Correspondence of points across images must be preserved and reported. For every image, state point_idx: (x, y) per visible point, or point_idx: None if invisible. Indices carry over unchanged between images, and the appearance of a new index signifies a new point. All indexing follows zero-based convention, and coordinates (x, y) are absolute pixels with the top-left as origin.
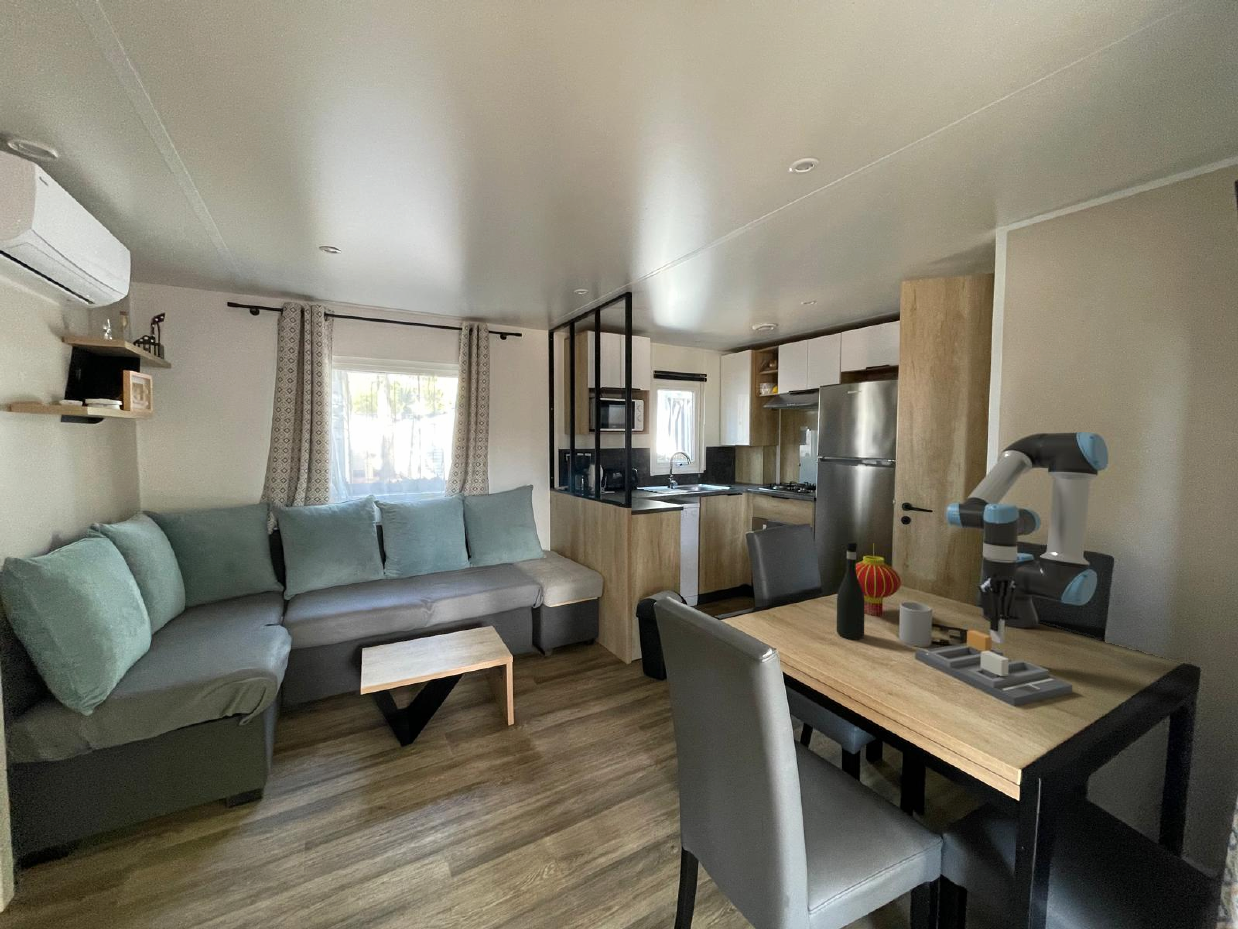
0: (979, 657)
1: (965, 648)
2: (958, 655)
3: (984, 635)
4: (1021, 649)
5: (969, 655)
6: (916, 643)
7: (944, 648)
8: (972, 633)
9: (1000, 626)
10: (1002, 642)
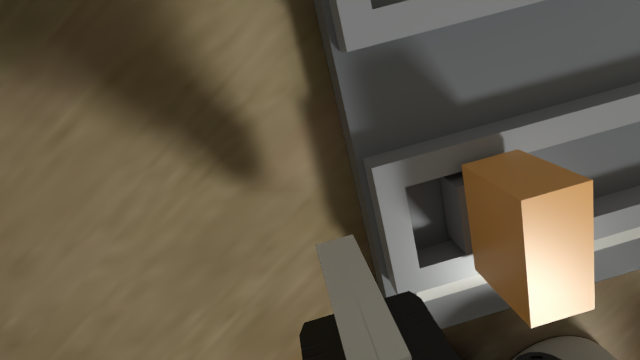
0: (572, 110)
1: None
2: None
3: (550, 229)
4: (77, 329)
5: None
6: (602, 350)
7: None
8: (591, 272)
9: (390, 315)
10: (330, 244)
